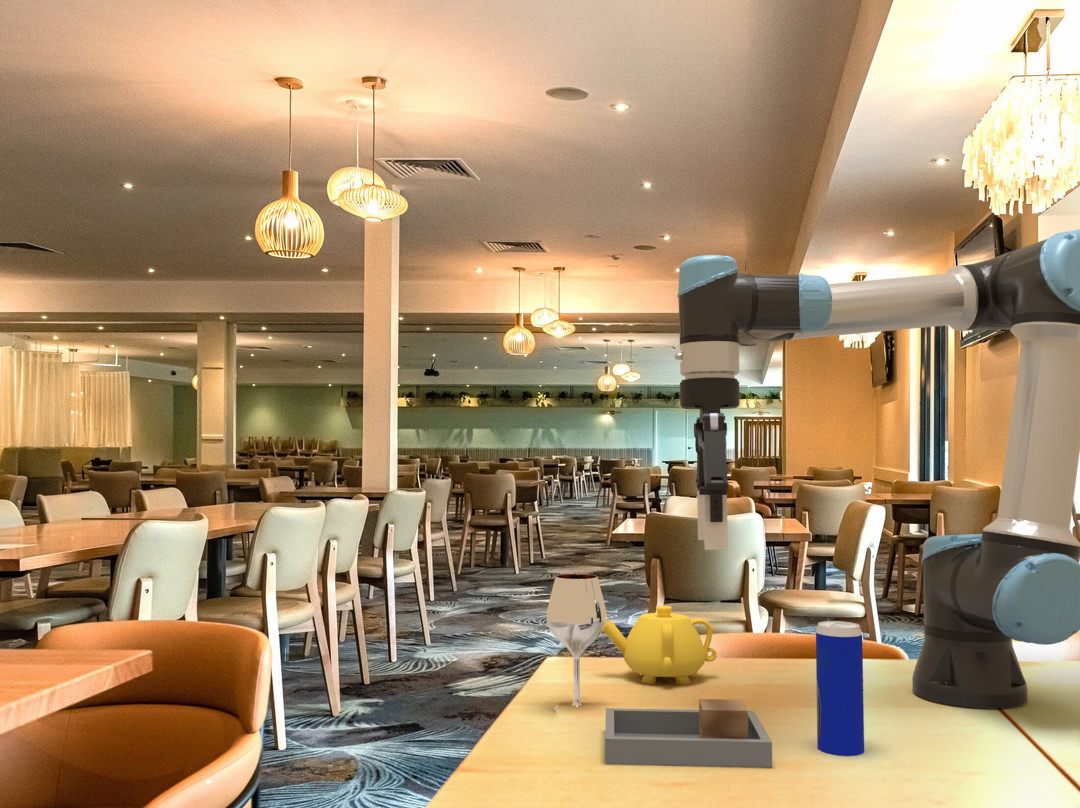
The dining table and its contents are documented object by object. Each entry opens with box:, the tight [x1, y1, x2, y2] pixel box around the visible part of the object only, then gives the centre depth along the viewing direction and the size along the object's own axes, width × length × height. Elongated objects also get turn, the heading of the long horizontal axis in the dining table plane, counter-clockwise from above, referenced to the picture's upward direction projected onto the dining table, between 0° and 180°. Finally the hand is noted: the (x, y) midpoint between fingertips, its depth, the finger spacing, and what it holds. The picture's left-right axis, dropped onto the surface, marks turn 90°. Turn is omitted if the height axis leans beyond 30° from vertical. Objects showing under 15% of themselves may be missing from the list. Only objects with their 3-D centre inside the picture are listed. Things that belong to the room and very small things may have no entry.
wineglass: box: [546, 573, 608, 713], centre depth 133 cm, size 8×8×18 cm
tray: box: [604, 707, 773, 769], centre depth 112 cm, size 18×13×4 cm
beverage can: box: [815, 620, 865, 757], centre depth 112 cm, size 5×5×15 cm
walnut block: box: [698, 698, 749, 739], centre depth 112 cm, size 5×5×5 cm
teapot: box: [602, 605, 717, 685], centre depth 152 cm, size 14×14×11 cm
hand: (712, 544), depth 124 cm, fingers open, 13 cm apart
